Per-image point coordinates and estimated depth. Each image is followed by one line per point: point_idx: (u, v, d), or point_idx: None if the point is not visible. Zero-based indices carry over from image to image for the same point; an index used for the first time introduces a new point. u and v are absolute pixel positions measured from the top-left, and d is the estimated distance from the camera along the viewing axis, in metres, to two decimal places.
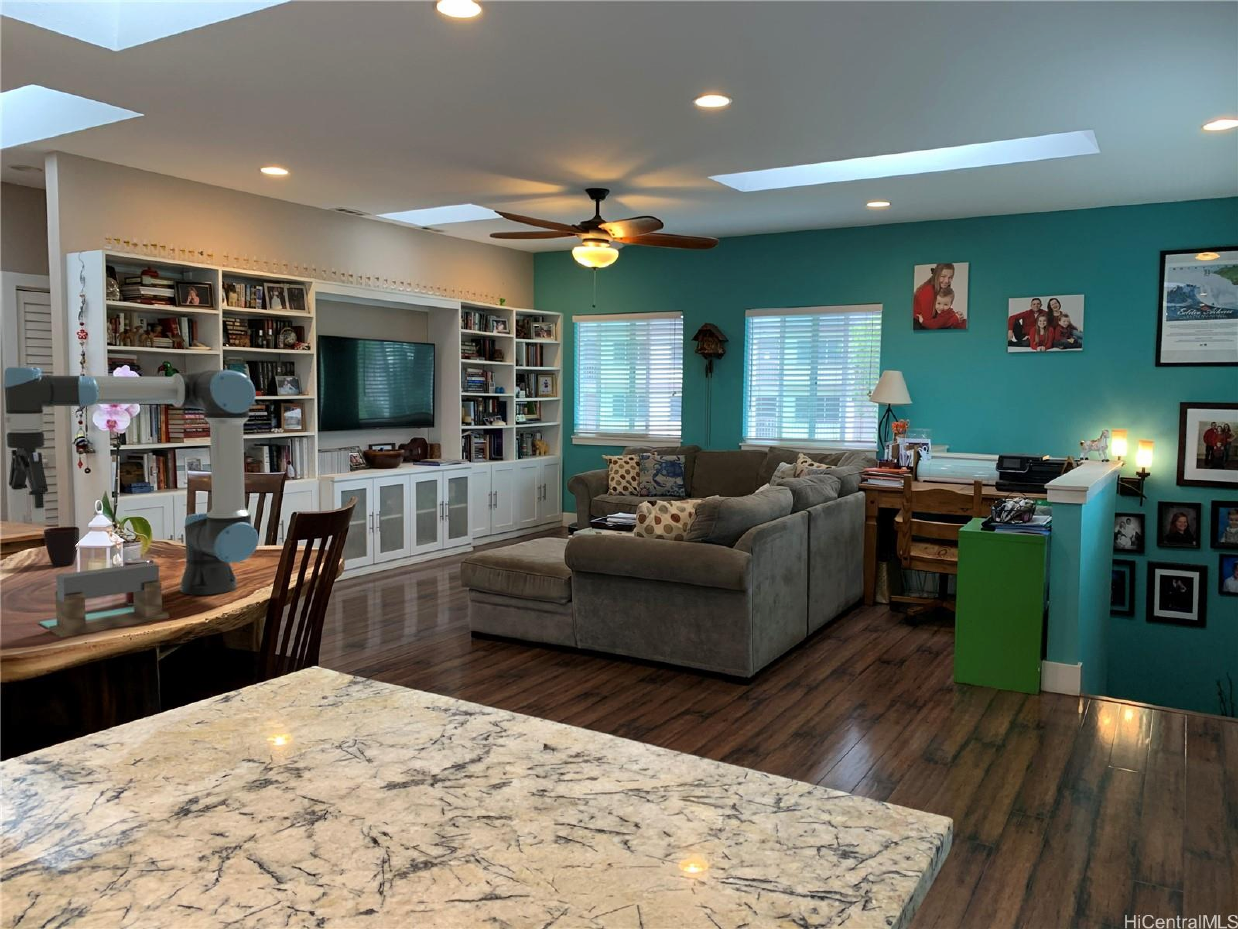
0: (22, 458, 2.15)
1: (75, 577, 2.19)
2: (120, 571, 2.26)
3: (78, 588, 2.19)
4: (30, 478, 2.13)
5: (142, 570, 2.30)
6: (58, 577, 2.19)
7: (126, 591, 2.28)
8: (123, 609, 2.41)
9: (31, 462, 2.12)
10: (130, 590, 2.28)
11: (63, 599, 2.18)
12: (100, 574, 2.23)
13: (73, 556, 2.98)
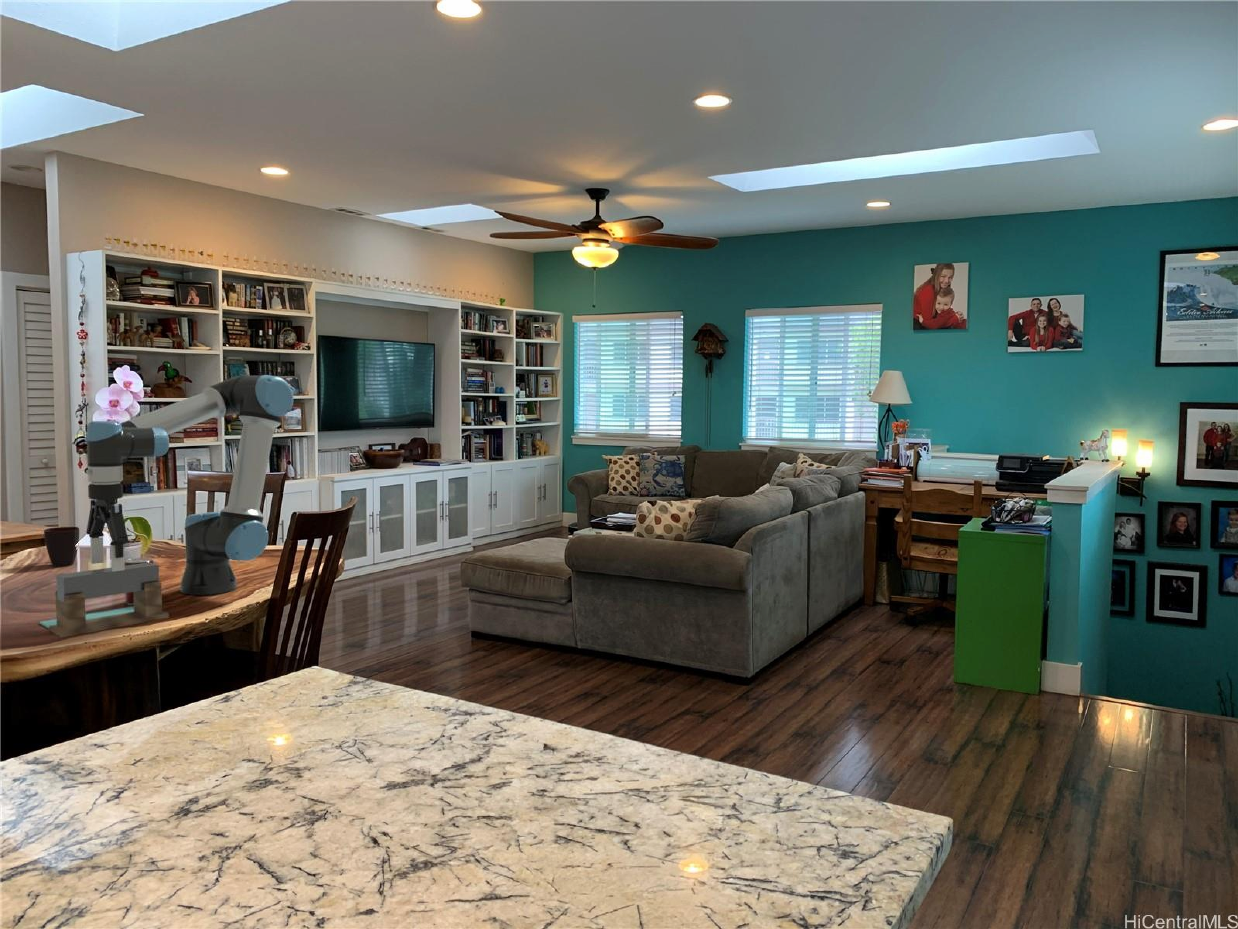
0: (103, 509, 2.23)
1: (75, 577, 2.19)
2: (120, 571, 2.26)
3: (78, 588, 2.19)
4: (111, 529, 2.21)
5: (142, 570, 2.30)
6: (58, 577, 2.19)
7: (126, 591, 2.28)
8: (123, 609, 2.41)
9: (112, 513, 2.20)
10: (130, 590, 2.28)
11: (63, 599, 2.18)
12: (100, 574, 2.23)
13: (73, 556, 2.98)
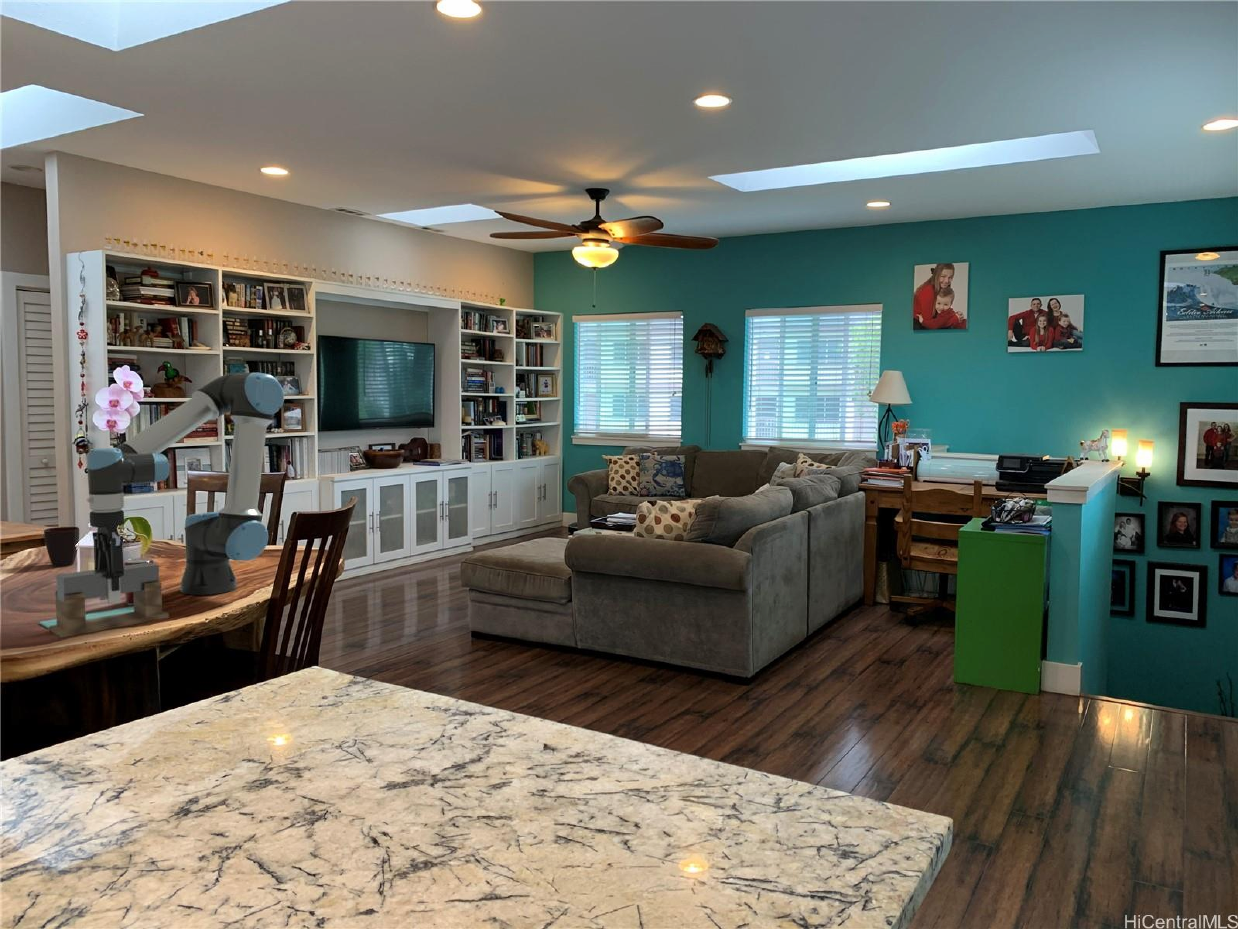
0: (104, 538, 2.23)
1: (75, 577, 2.19)
2: None
3: (78, 588, 2.19)
4: (109, 561, 2.23)
5: (142, 570, 2.30)
6: (58, 577, 2.19)
7: (126, 591, 2.28)
8: (123, 609, 2.41)
9: (113, 547, 2.21)
10: (130, 590, 2.28)
11: (63, 599, 2.18)
12: (100, 574, 2.23)
13: (73, 556, 2.98)
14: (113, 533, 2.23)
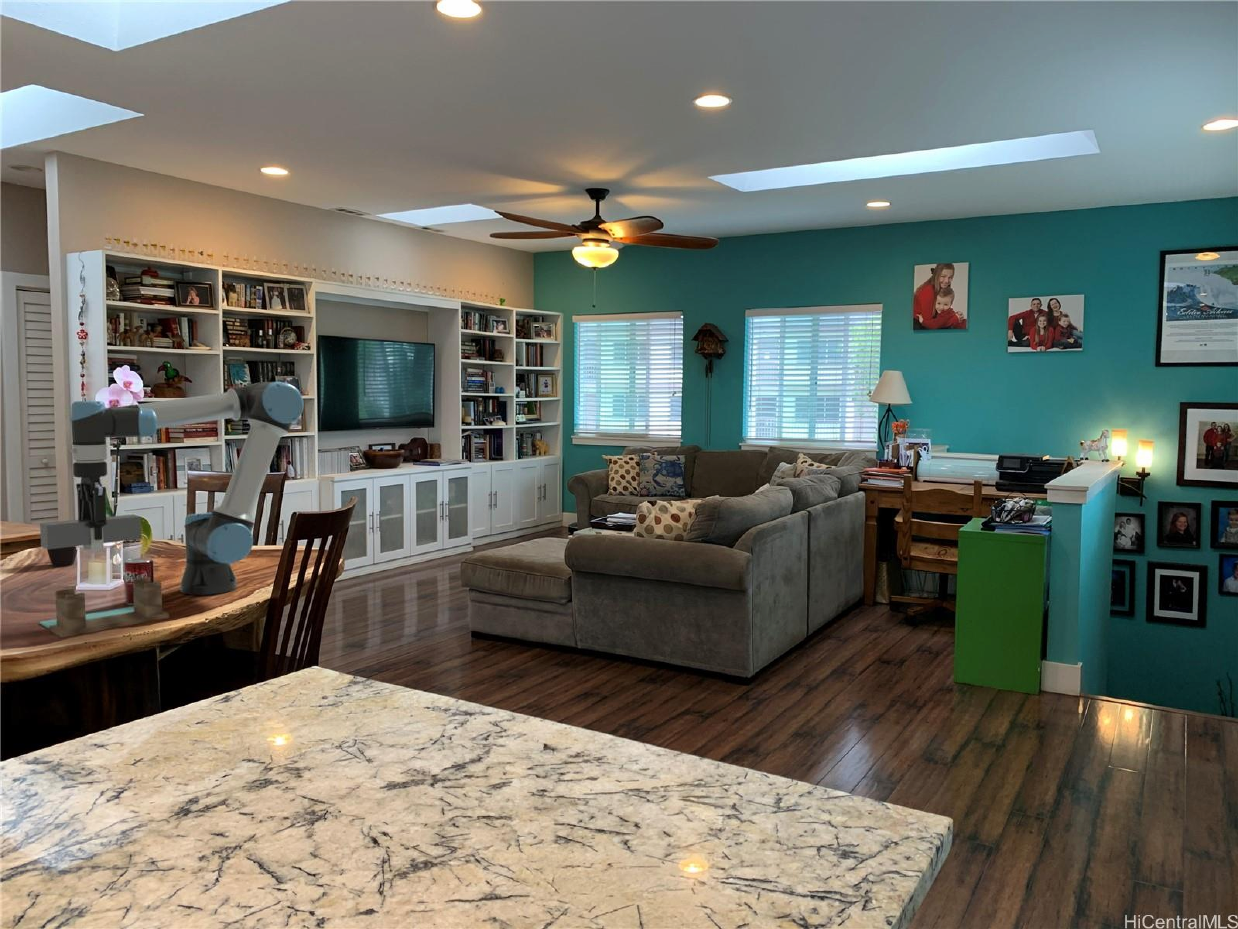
0: (87, 488, 2.29)
1: (58, 525, 2.24)
2: None
3: (61, 535, 2.25)
4: (92, 511, 2.29)
5: (124, 520, 2.36)
6: (42, 525, 2.24)
7: (109, 541, 2.33)
8: (123, 609, 2.41)
9: (96, 496, 2.27)
10: (113, 540, 2.34)
11: (46, 546, 2.23)
12: (83, 523, 2.28)
13: (73, 556, 2.98)
14: (96, 483, 2.29)
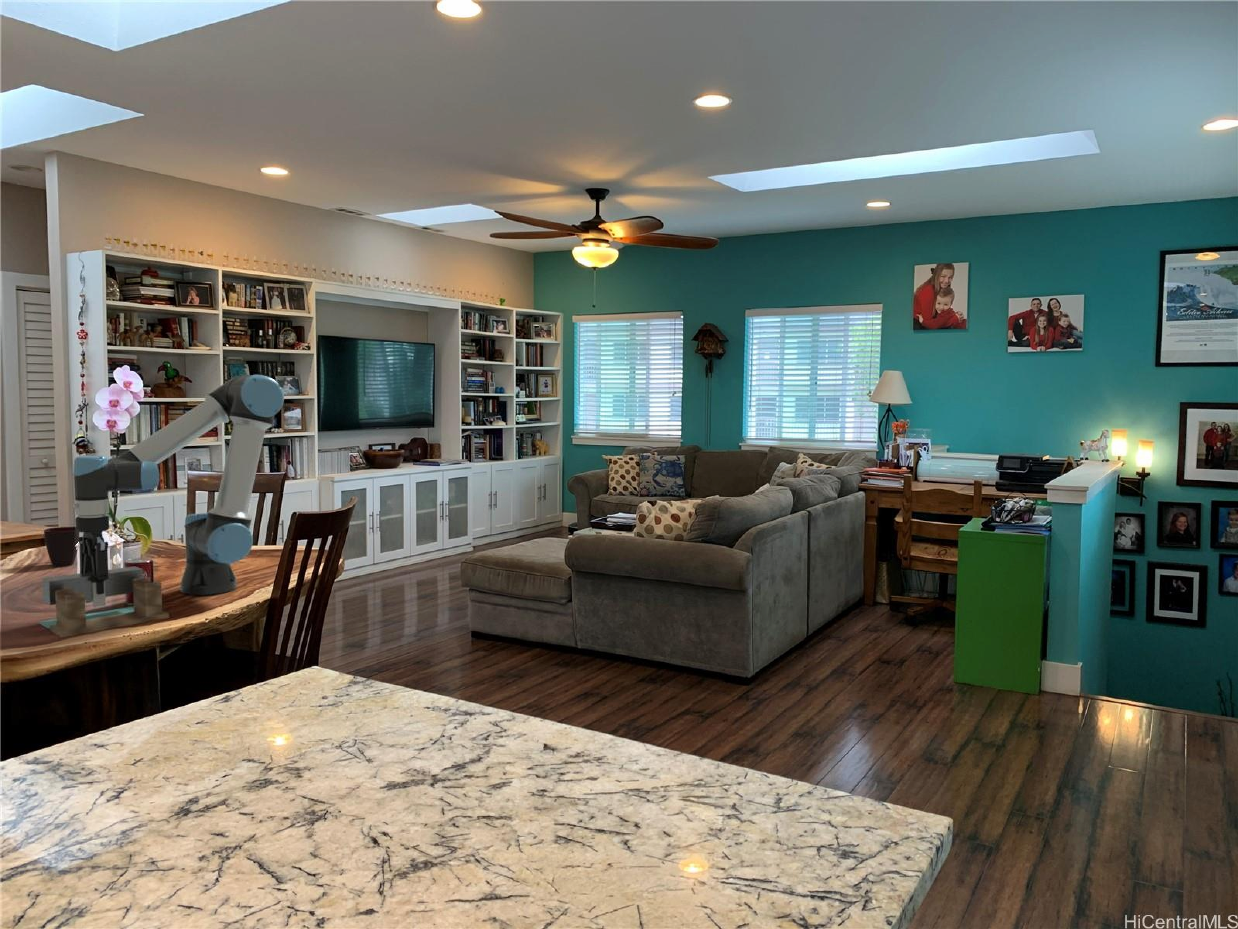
0: (89, 543, 2.30)
1: (60, 580, 2.25)
2: None
3: None
4: (94, 565, 2.30)
5: (126, 573, 2.37)
6: (44, 580, 2.26)
7: (110, 594, 2.34)
8: (123, 609, 2.41)
9: (98, 552, 2.28)
10: (114, 593, 2.35)
11: (48, 602, 2.24)
12: (85, 578, 2.29)
13: (73, 556, 2.98)
14: (98, 538, 2.30)
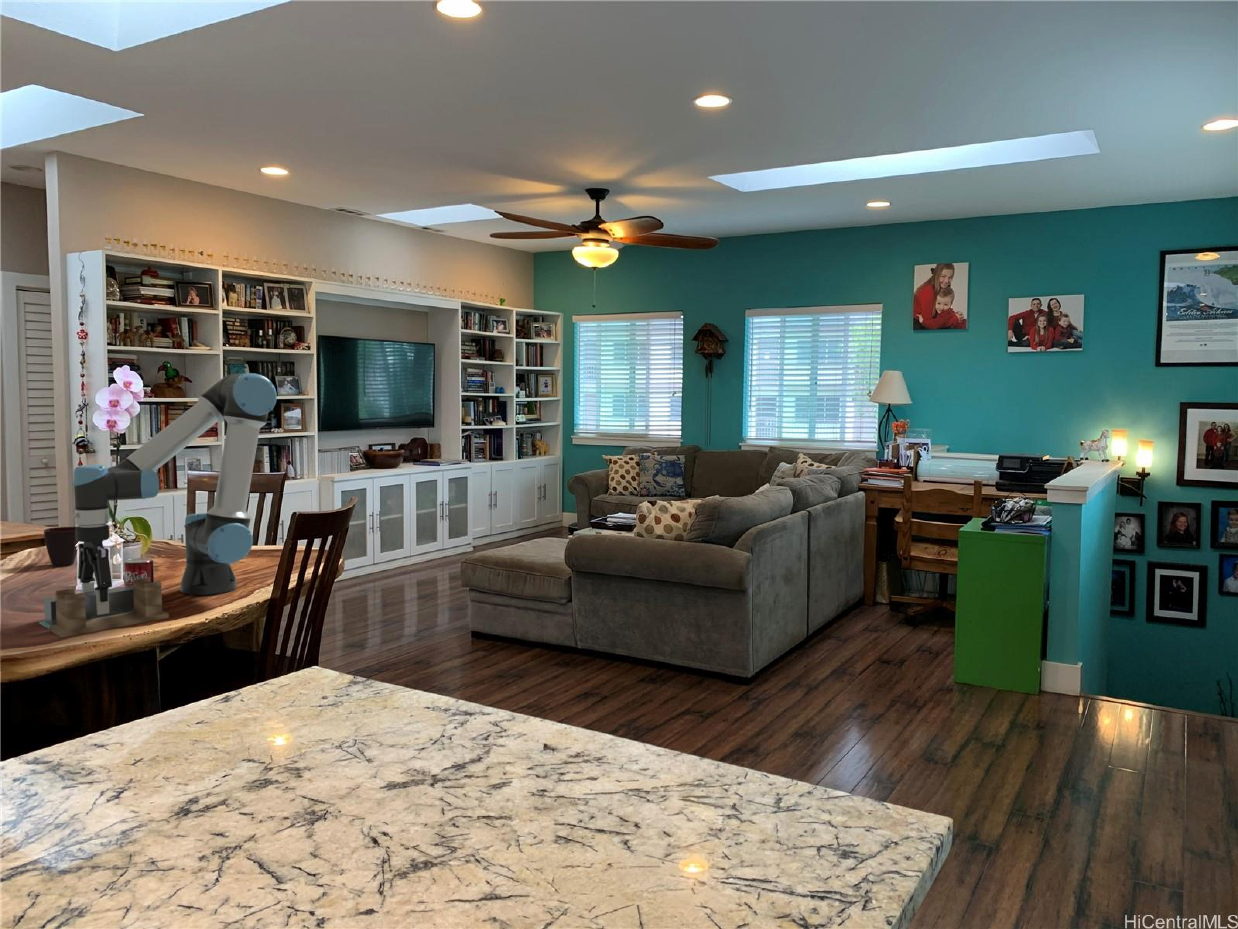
0: (90, 551, 2.30)
1: None
2: None
3: None
4: (96, 573, 2.29)
5: (127, 592, 2.38)
6: (45, 601, 2.26)
7: (112, 613, 2.35)
8: None
9: (99, 558, 2.28)
10: (116, 612, 2.36)
11: (50, 622, 2.25)
12: (86, 597, 2.30)
13: (73, 556, 2.98)
14: (98, 547, 2.30)
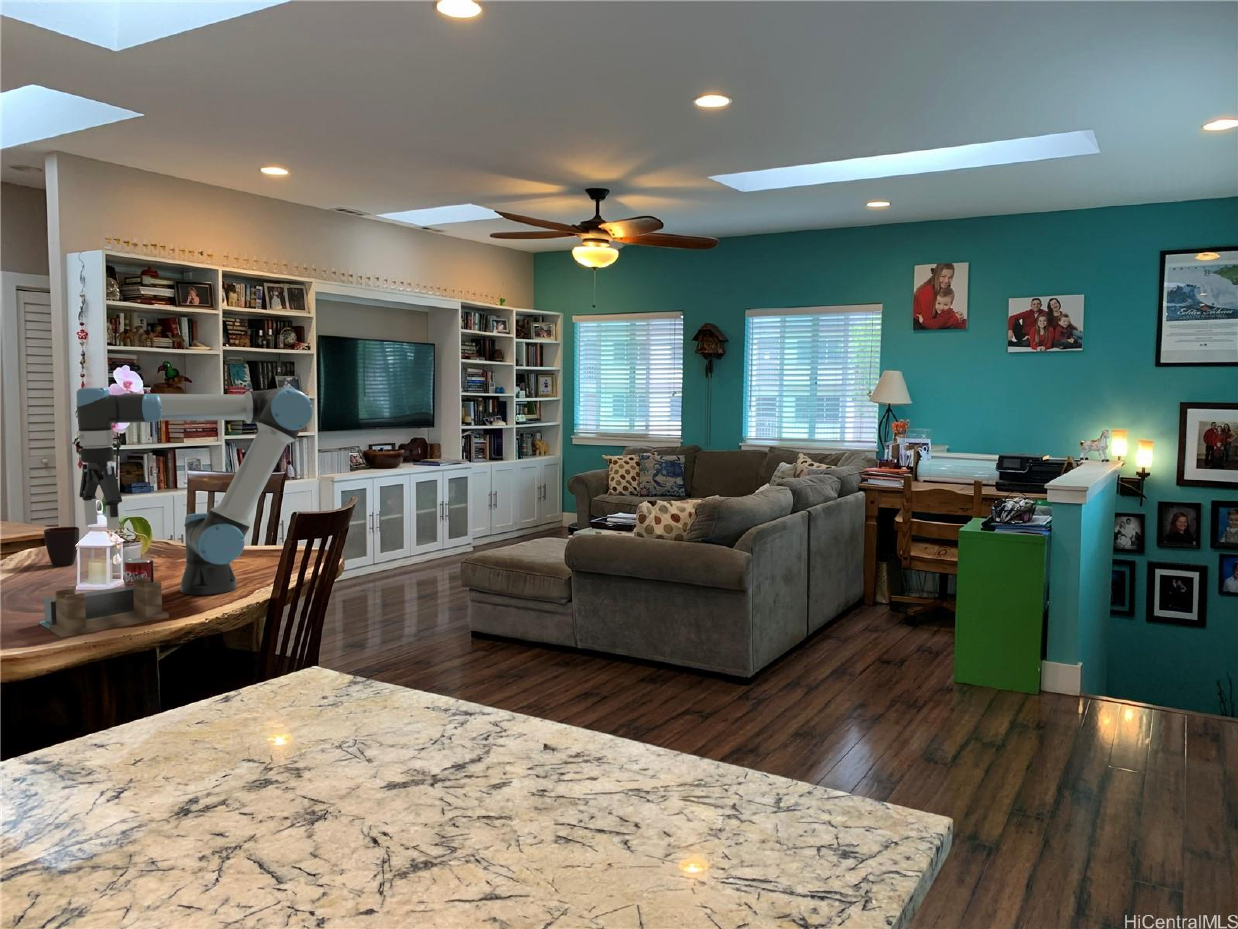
0: (95, 472, 2.33)
1: None
2: (106, 594, 2.34)
3: None
4: (104, 490, 2.32)
5: (127, 592, 2.38)
6: (45, 601, 2.26)
7: (112, 613, 2.35)
8: None
9: (106, 475, 2.31)
10: (116, 612, 2.36)
11: (50, 622, 2.25)
12: (86, 597, 2.30)
13: (73, 556, 2.98)
14: (103, 467, 2.33)
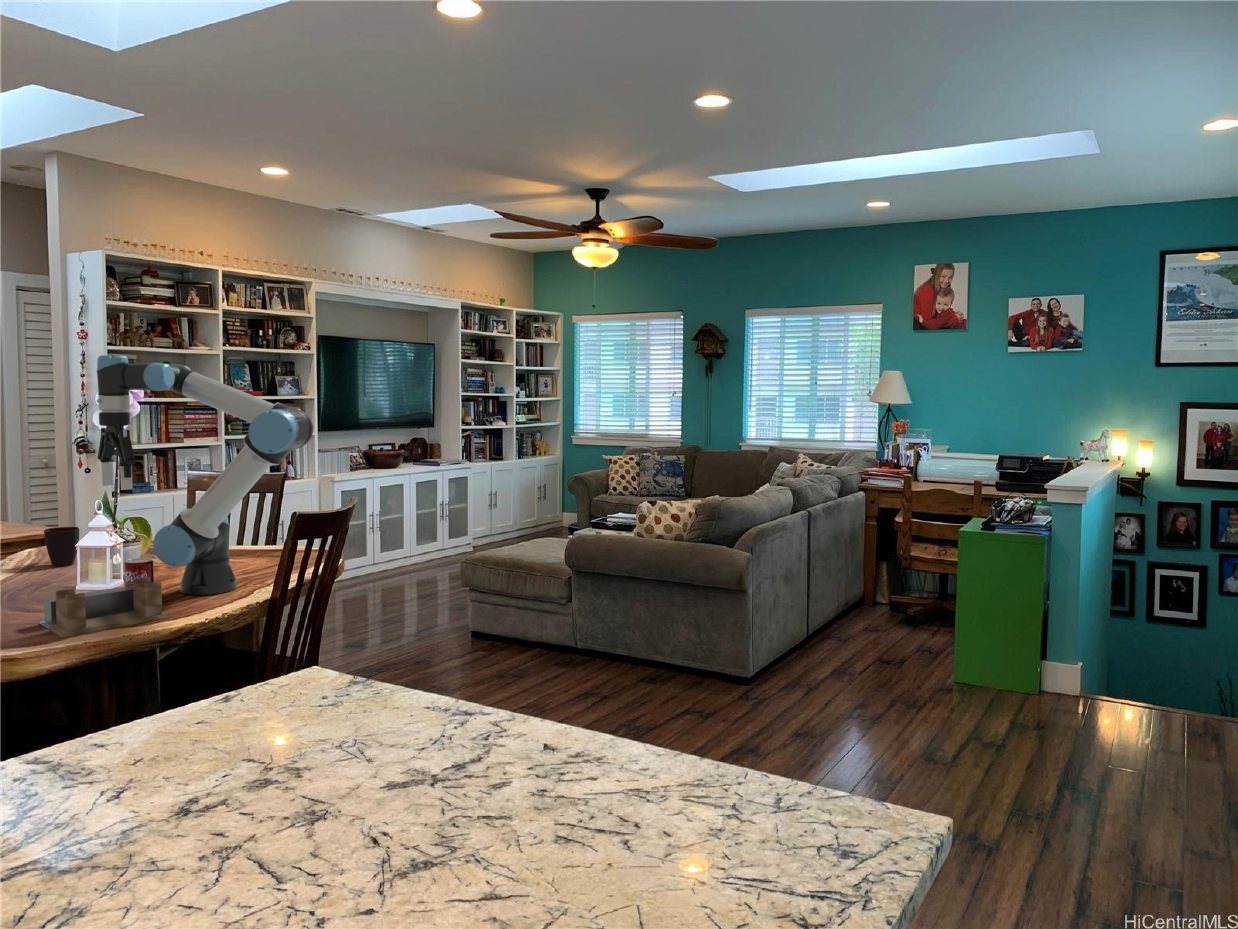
0: (112, 434, 2.47)
1: None
2: (106, 594, 2.34)
3: None
4: (120, 452, 2.46)
5: (127, 592, 2.38)
6: (45, 601, 2.26)
7: (112, 613, 2.35)
8: None
9: (121, 437, 2.44)
10: (116, 612, 2.36)
11: (50, 622, 2.25)
12: (86, 597, 2.30)
13: (73, 556, 2.98)
14: (120, 430, 2.47)
